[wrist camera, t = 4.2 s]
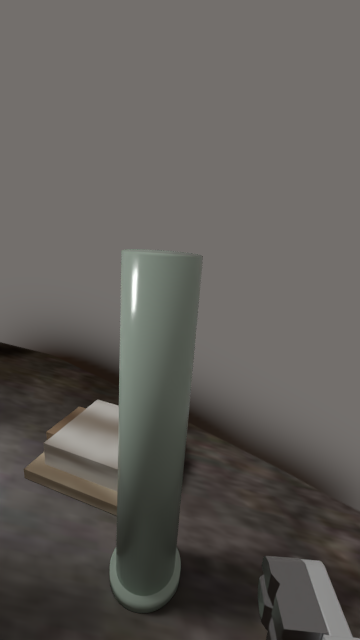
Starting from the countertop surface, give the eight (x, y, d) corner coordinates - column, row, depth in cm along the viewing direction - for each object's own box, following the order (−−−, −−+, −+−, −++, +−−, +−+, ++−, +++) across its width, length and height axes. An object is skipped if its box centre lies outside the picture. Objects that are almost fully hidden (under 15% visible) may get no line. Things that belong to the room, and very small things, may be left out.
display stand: (128, 520, 30) (129, 487, 29) (24, 477, 34) (22, 447, 33) (176, 441, 42) (178, 415, 40) (94, 416, 46) (94, 392, 45)
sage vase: (163, 627, 22) (194, 261, 15) (94, 592, 24) (92, 250, 17) (189, 552, 27) (221, 255, 20) (131, 528, 29) (141, 247, 22)
